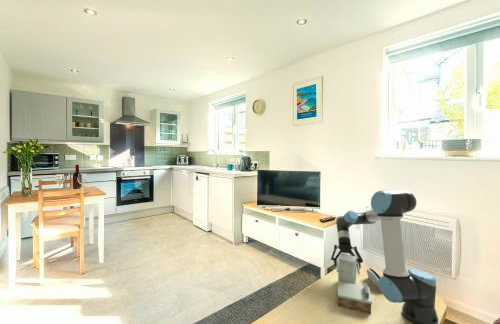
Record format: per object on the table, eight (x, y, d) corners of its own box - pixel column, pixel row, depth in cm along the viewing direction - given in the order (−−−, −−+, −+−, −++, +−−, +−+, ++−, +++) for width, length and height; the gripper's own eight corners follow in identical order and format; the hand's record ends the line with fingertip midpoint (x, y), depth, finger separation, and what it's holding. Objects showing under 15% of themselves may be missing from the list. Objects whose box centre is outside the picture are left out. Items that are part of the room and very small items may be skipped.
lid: (368, 289, 139) (369, 281, 139) (371, 304, 125) (372, 296, 125) (337, 283, 145) (338, 276, 145) (337, 296, 131) (338, 289, 131)
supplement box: (356, 282, 153) (357, 256, 152) (354, 289, 145) (355, 262, 144) (340, 278, 158) (341, 252, 157) (337, 284, 150) (338, 258, 149)
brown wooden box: (367, 298, 139) (368, 289, 139) (370, 313, 126) (371, 304, 126) (338, 292, 145) (338, 283, 144) (338, 306, 132) (338, 297, 131)
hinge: (390, 292, 145) (385, 277, 145) (383, 295, 145) (378, 279, 145) (375, 277, 162) (371, 263, 161) (369, 280, 162) (364, 266, 161)
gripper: (361, 242, 163) (367, 276, 149) (324, 239, 167) (327, 272, 153) (364, 237, 158) (370, 272, 143) (326, 234, 162) (328, 268, 148)
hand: (348, 272), depth 148 cm, fingers closed on supplement box, 12 cm apart
